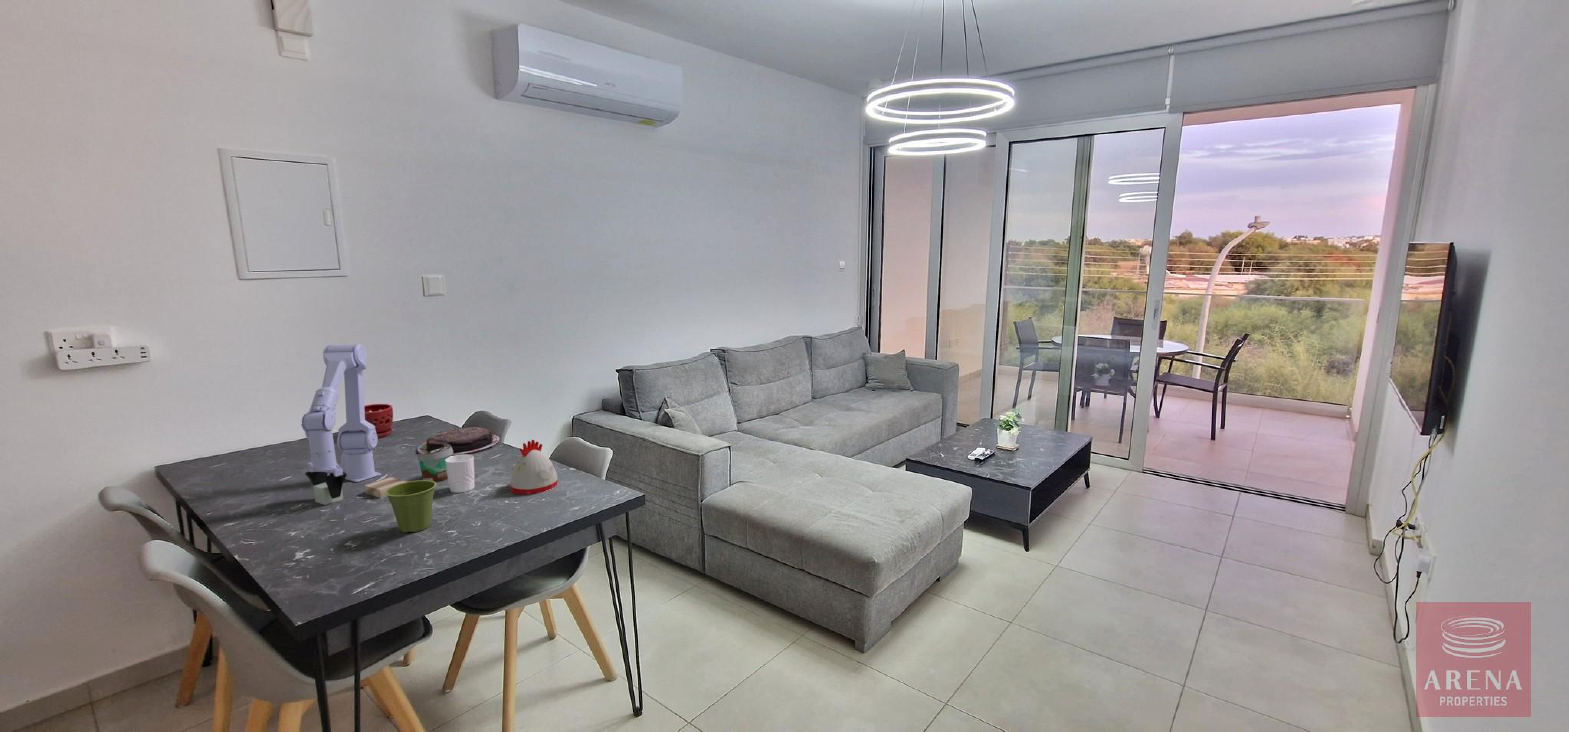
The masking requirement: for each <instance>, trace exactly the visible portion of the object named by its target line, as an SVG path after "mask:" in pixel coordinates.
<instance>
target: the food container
mask: <svg viewBox="0 0 1569 732" xmlns="http://www.w3.org/2000/svg"><path fill="white" fill-rule="evenodd" d="M452 453H453V449H452V447H451V446H450V445H449V444H444V447H441V448H439V449H435V450H431V451H430V452H428V453H426V454H420V453H418V454H417V461H418V462H419V467H420V471H421V472H420V473H421V477H422V480H429V481H434V482H436V483H439V482H444V481H446V480H448V476H447V470H446V463H445V459H447V458H449V457H451V454H452Z"/></svg>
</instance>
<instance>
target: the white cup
mask: <svg viewBox="0 0 1569 732" xmlns="http://www.w3.org/2000/svg"><path fill="white" fill-rule="evenodd" d="M445 463H446V470H447V476H448V479H447V480H448V481H447V482H448V485H449V490H450V492H451V493H457V494H458V493H466V492H470V491H472V490H474V488H475V487H476V485H475V458H474V455H473V454H462V455H455V456H451V457H449V458H447V459H445Z"/></svg>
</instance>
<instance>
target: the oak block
mask: <svg viewBox="0 0 1569 732" xmlns="http://www.w3.org/2000/svg"><path fill="white" fill-rule="evenodd" d="M405 482H408V481H406V480H403V479H399V478H395V477H392V476H391V477H388V478H384V479H382V480H378V481H375V482H374V481H373V482H372V483H368V484H365V485H364V493H365V494H366V495H368V496H369V495H370V496H372V497H376V498H379V499H383V498H386V497H388V496H387V495H386V494H385V491H386V490H387V489H388V488H390V487H392V486H394V485H397V484H401V483H405Z"/></svg>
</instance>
